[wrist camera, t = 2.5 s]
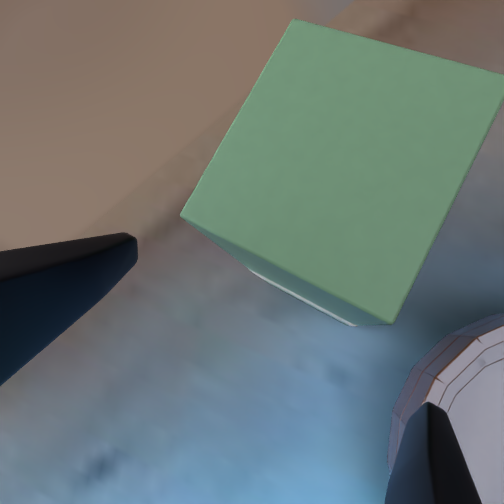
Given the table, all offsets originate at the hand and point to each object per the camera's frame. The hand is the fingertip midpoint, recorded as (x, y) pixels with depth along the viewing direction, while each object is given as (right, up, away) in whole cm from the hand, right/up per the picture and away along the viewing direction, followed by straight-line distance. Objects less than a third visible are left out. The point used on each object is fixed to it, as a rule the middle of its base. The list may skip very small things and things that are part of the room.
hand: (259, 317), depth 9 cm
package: (+4, +1, +11) cm, 12 cm away
